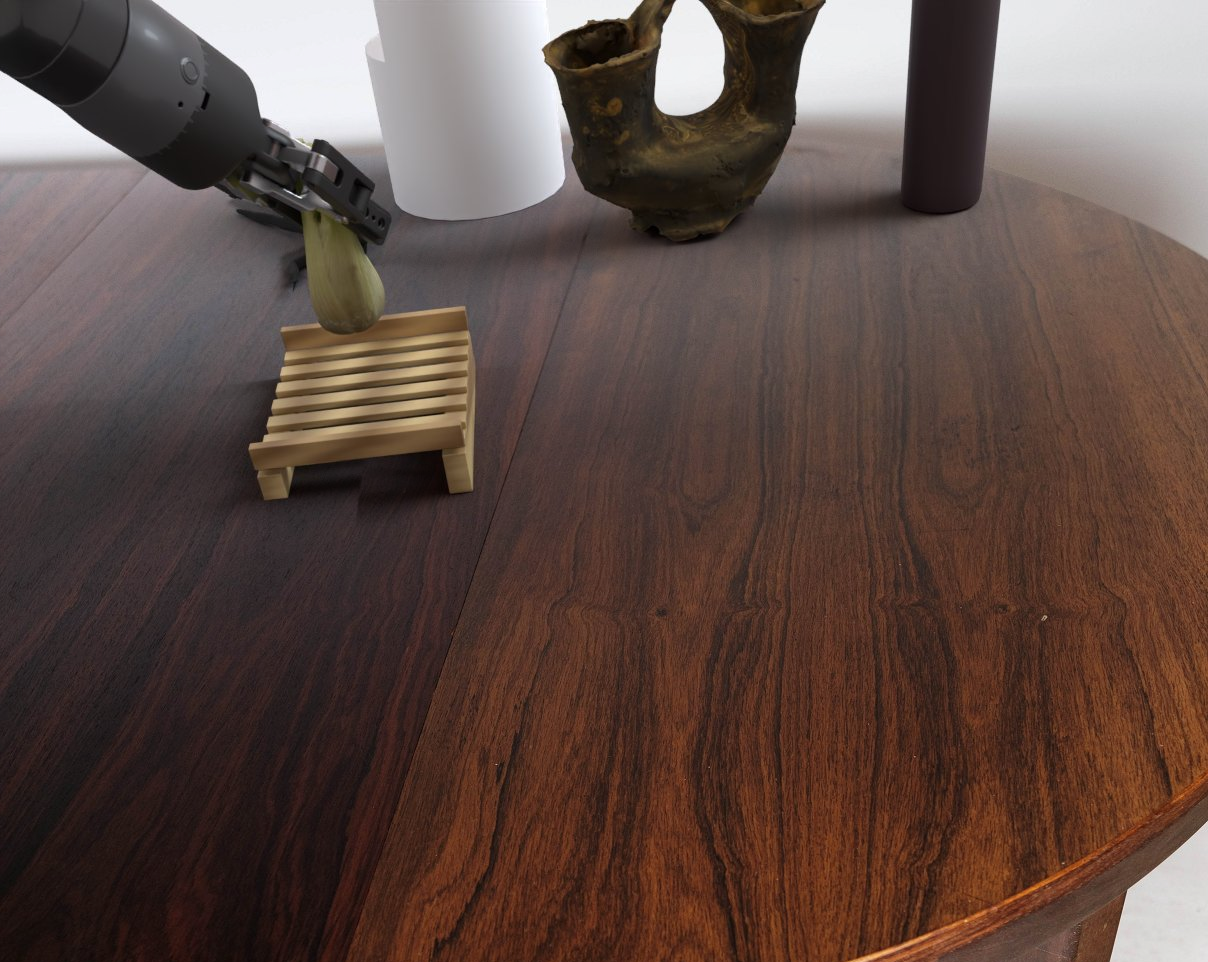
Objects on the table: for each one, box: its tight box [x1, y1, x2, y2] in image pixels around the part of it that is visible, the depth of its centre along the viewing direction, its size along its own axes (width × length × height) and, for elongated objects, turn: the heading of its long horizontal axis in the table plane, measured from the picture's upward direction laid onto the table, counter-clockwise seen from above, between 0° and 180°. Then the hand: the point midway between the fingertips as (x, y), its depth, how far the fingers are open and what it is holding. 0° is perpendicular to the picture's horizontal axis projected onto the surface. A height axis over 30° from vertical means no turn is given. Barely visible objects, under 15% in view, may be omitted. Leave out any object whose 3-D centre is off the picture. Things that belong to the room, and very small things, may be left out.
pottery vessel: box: [542, 0, 827, 242], centre depth 112 cm, size 25×11×20 cm, turn 112°
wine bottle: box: [900, 0, 1002, 214], centre depth 107 cm, size 7×7×30 cm
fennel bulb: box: [296, 138, 386, 335], centre depth 84 cm, size 6×5×12 cm
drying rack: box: [248, 305, 477, 501], centre depth 93 cm, size 14×18×5 cm
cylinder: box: [364, 0, 566, 222], centre depth 121 cm, size 17×17×28 cm
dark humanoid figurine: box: [235, 208, 369, 292], centre depth 120 cm, size 8×9×25 cm
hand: (348, 223), depth 85 cm, fingers closed on fennel bulb, 5 cm apart
